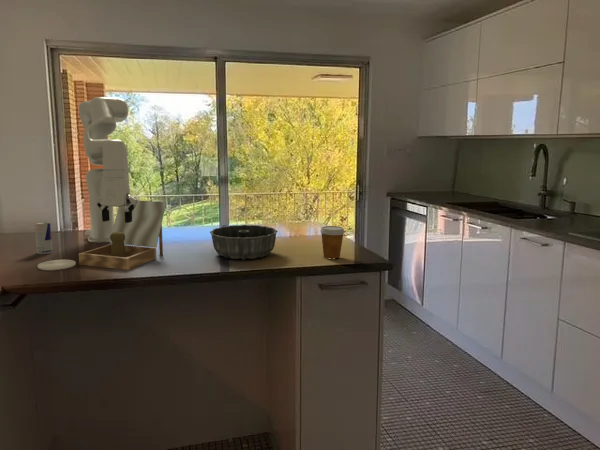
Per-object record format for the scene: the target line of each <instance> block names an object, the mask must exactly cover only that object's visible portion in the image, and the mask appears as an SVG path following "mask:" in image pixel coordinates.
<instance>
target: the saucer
mask: <svg viewBox="0 0 600 450" xmlns="http://www.w3.org/2000/svg"><path fill="white" fill-rule="evenodd" d="M75 266H76V260H72V259H54V260H53V259H52V260H51V259H50V260H47V261H44V262H40V263H38V264H37V269H38V270H39V271H40V270H41V271H59V270H61V269H62V270H67V269H71V268H73V267H75ZM62 270H61V271H62Z"/></svg>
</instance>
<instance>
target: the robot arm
mask: <svg viewBox="0 0 600 450" xmlns="http://www.w3.org/2000/svg"><path fill="white" fill-rule="evenodd" d="M78 114H79V119H80V122H81V124H82V126H83V128H84V132H83V137H82V142H83V148H84V153H85V155H86V157H87V158H88V161H89V164H91V165H92V166H93V165H94V166H102V168H93V169H90V170H87V172H86V174H85V180H86V186H87V187H86V188H87V190H88V197H89V199H88V201H89V214H90V229H87V230H86V231H85V232H84V234H85V235H89V236H88V238H87V241H88V242H90V243H95V244H96V243H97V244H99V243H100V244H101V243H103V244H104V243H110V241H111V239H110V235H111V234H112V232H113V228H114V224H115V216H114V215H115V213H114V208H116V207H122V206H123V208H124V209H125V210H126V212H125V223H129V222H132V211H133V209H134V208H135V207H136V204H137V201H138V199H137V198H135V197H134V196H132V195H131V190H130V173H129V163H128V162H129V160H128V152H127V151H128V150H127V145H126V143H124V141H123V140H121V139H109V136H108V135H111V134H112V133H114V132H115V131H116V128H117V123H121V122H124V121H125V120H126V119H127V117H128V115H129V107H128V104H127V102H126V101H125V99H123V98H121V97H109V96H108V97H106V96H95V97H94V98H92V99H90V100H85V101H82V102H80V103H79V105H78ZM131 201H132V204H131V205H130V203H131Z"/></svg>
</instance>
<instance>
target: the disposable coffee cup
mask: <svg viewBox="0 0 600 450" xmlns="http://www.w3.org/2000/svg"><path fill="white" fill-rule="evenodd" d="M320 228H321V229H320V234H321V242H322V254H323V258H324V257H325V258H331V259H333V258H339V257H340V258H341V252H342V251H341V250H342V245H343V240H344V239H343V238H344V234H345V230H344V227H343V226H337V225H326V226H325V225H324V226H321V227H320ZM325 258H324V259H325ZM340 258H339V259H340ZM331 259H330V260H331Z"/></svg>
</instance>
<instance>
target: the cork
mask: <svg viewBox="0 0 600 450" xmlns="http://www.w3.org/2000/svg"><path fill="white" fill-rule="evenodd" d="M110 239H111V241H112V243H111V244H112V248H111V255H110V256H116V257H126V258H127V257H128V256H127V255H126V250H125V244H124V240H125V234H124V233H123V232H114V233H112V234H111V235H110Z"/></svg>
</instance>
